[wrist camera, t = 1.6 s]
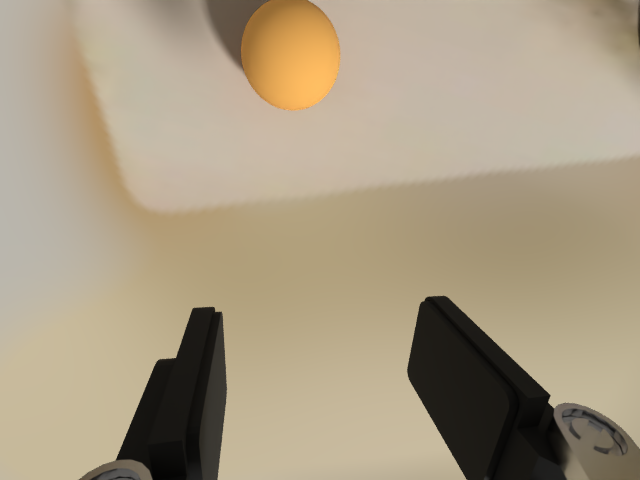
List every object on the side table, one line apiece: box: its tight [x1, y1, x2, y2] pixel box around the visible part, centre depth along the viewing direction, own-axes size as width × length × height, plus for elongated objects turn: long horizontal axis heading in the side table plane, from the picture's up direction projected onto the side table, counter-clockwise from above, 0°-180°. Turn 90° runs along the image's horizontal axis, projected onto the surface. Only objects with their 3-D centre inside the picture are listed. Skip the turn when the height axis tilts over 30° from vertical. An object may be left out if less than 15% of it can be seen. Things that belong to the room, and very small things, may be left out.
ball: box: [241, 0, 340, 110], centre depth 18 cm, size 6×6×6 cm
